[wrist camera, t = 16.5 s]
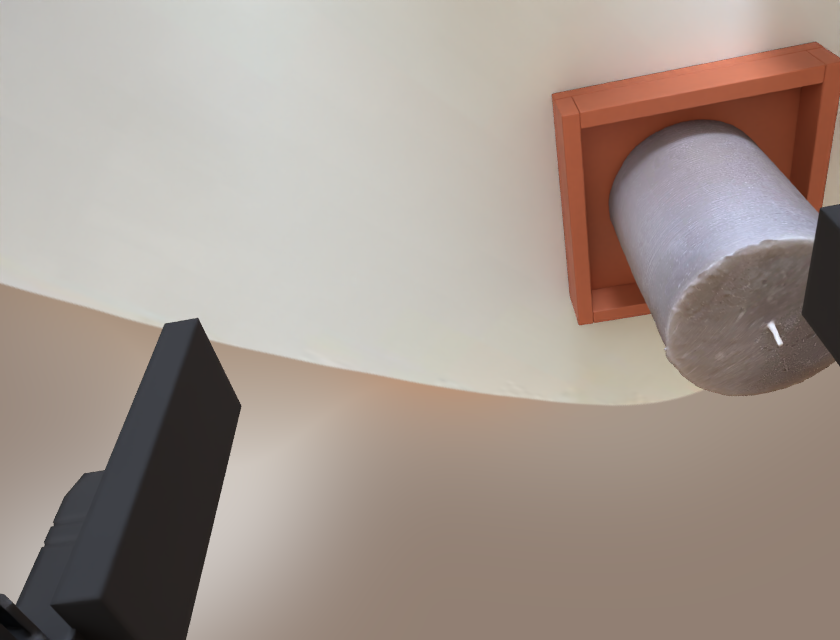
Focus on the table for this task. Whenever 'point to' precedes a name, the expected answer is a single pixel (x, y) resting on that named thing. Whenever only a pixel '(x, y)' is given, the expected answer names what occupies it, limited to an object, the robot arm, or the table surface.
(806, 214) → the pillar candle
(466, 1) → the table surface
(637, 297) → the holder
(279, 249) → the table surface
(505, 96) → the table surface
